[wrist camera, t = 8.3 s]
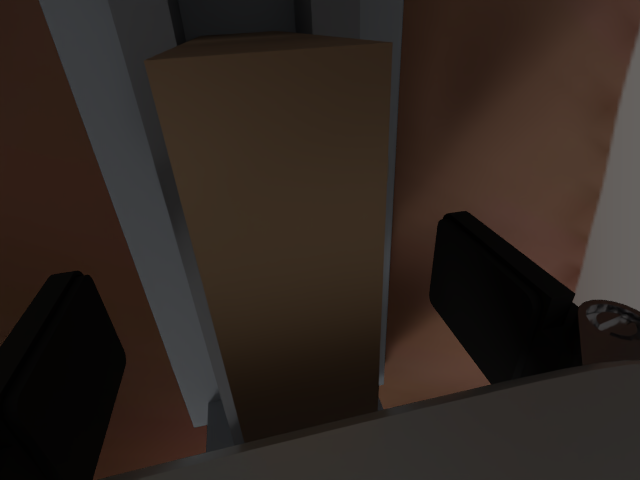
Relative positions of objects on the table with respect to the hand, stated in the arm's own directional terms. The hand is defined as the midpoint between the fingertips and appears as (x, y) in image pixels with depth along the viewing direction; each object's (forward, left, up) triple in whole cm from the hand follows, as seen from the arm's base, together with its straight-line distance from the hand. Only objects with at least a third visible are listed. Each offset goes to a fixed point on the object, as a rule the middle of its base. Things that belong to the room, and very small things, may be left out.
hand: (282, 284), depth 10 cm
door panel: (0, 0, -4) cm, 4 cm away
